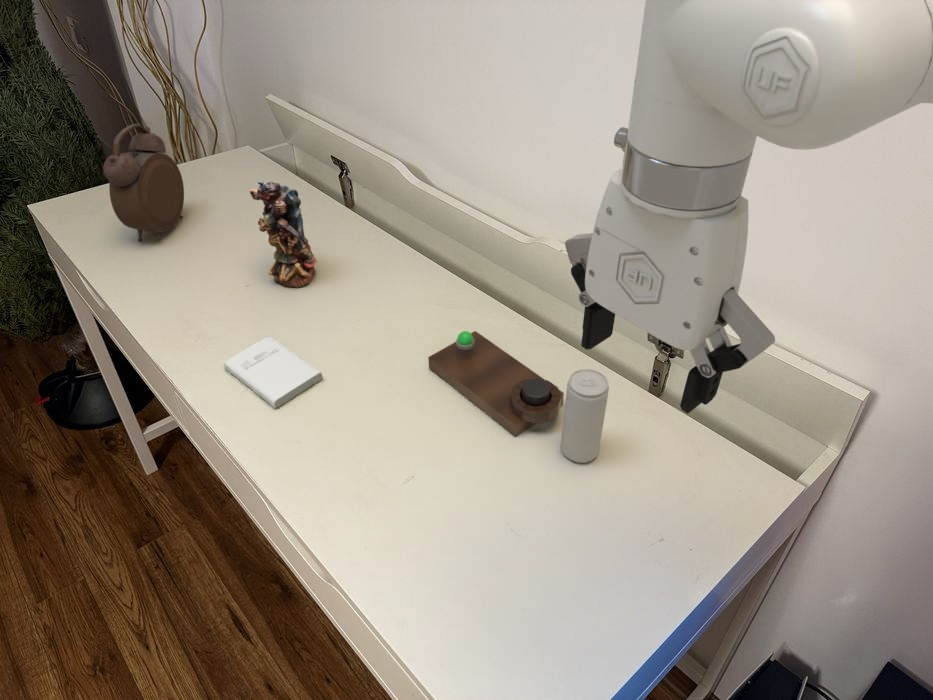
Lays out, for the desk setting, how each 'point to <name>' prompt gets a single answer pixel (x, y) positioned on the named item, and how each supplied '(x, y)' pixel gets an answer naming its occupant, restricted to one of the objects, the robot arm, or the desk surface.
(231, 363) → the hard drive
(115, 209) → the alarm clock
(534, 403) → the button
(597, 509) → the desk surface
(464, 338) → the green lamp
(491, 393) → the switch box
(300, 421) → the desk surface
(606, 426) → the desk surface
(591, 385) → the beverage can
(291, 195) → the figurine
